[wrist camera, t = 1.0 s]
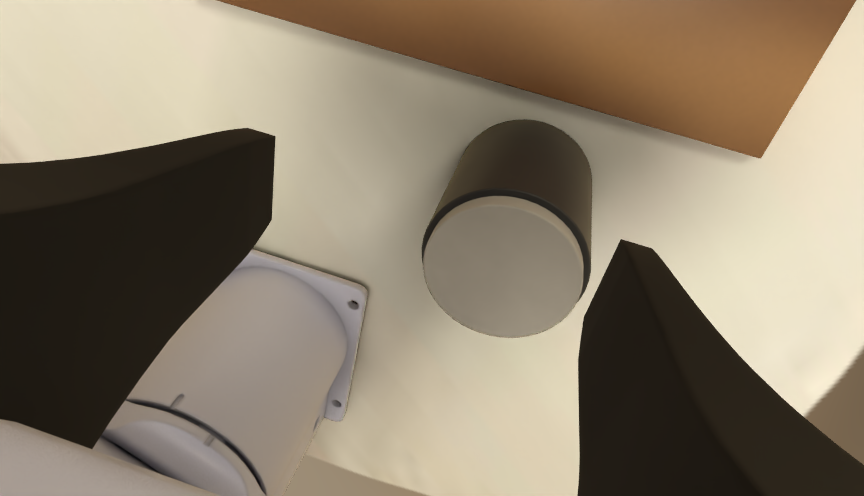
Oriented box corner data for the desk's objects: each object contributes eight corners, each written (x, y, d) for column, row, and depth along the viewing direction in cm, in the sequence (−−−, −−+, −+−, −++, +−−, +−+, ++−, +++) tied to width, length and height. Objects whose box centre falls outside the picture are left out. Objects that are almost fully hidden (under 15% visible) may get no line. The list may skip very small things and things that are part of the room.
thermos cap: (565, 256, 23) (555, 363, 17) (445, 218, 23) (402, 313, 18) (613, 142, 20) (619, 231, 15) (476, 101, 20) (435, 175, 15)
